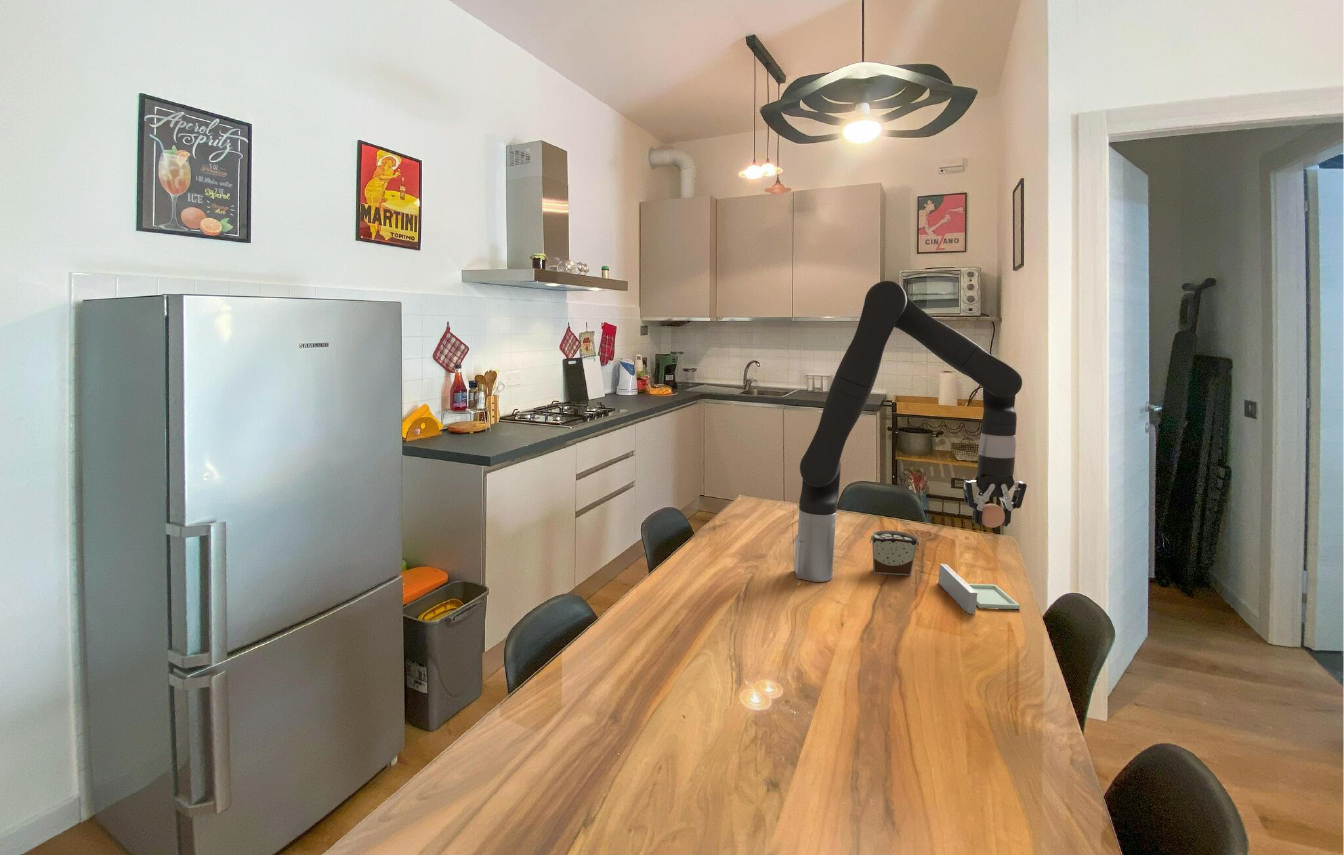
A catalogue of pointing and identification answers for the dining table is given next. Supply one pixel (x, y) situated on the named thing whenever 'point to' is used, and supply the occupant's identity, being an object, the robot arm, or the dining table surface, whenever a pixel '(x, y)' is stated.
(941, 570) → the low wall
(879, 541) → the food container
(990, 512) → the ball
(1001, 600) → the sage tray
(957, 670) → the dining table surface
